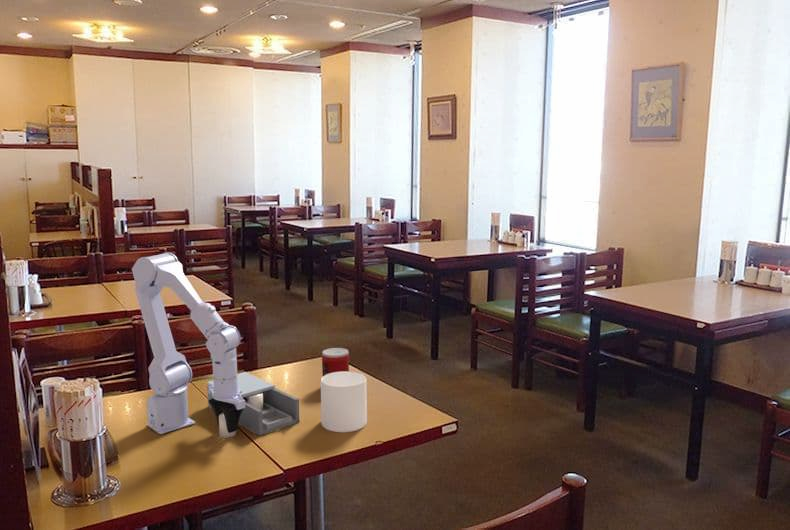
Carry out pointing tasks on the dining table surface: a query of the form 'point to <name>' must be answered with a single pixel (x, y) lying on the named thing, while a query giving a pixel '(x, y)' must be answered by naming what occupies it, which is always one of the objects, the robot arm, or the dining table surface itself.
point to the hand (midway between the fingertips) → (227, 428)
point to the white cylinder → (343, 401)
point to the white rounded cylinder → (224, 427)
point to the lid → (250, 384)
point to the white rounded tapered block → (256, 400)
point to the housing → (269, 412)
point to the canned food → (335, 360)
